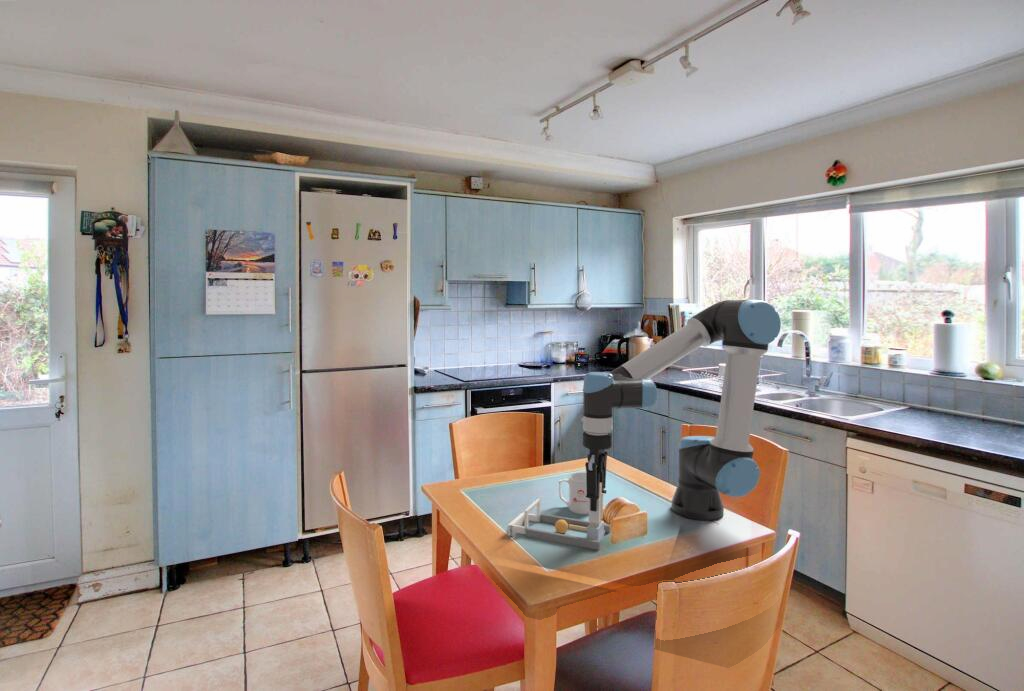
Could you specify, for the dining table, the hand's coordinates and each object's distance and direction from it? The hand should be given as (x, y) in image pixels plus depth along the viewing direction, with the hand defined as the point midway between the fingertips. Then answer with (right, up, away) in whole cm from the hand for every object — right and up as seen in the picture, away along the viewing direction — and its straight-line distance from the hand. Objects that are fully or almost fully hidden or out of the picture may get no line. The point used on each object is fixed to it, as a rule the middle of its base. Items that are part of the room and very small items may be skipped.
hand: (595, 519), depth 144 cm
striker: (0, -5, 0) cm, 5 cm away
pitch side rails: (-7, -6, +3) cm, 10 cm away
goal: (-19, -6, +9) cm, 21 cm away
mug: (-2, -5, +22) cm, 23 cm away
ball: (-9, -3, +4) cm, 10 cm away
